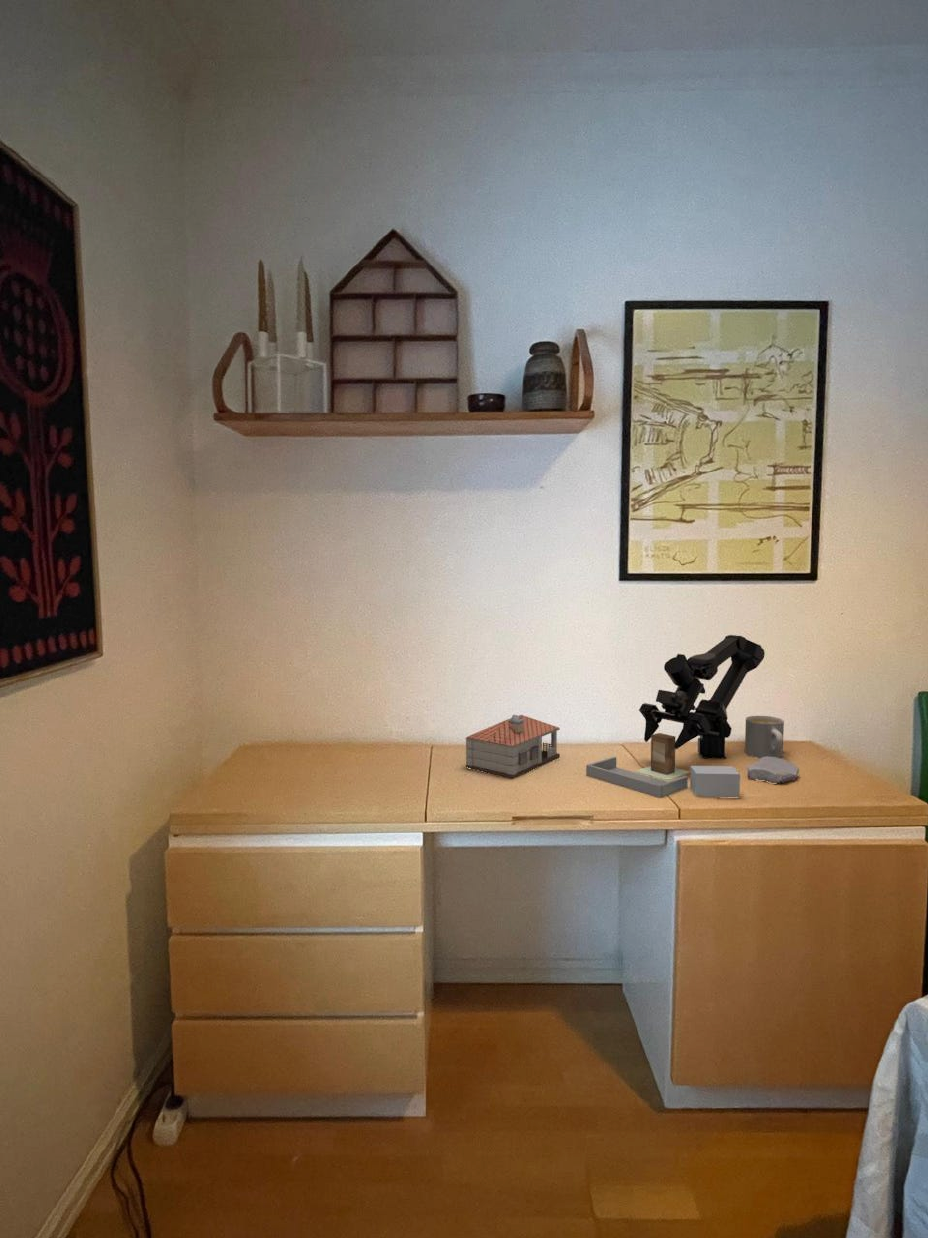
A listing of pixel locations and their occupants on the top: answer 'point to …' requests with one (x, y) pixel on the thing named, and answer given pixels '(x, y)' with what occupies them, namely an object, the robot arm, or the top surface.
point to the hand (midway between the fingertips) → (659, 744)
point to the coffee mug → (764, 736)
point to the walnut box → (662, 753)
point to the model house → (511, 747)
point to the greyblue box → (715, 781)
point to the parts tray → (634, 779)
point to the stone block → (773, 770)
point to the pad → (662, 776)
